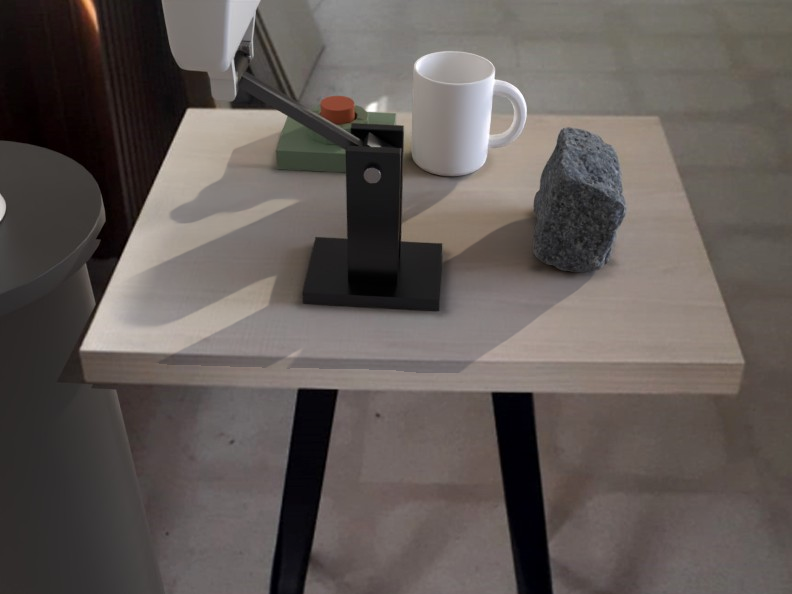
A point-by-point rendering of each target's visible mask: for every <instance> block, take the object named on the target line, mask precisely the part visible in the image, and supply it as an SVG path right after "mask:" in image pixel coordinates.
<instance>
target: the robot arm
mask: <svg viewBox="0 0 792 594" xmlns="http://www.w3.org/2000/svg"><path fill="white" fill-rule="evenodd" d="M261 1H262V0H161V4H162V10H163V11H162V12H163V17H164V23H165V27H166V33H167V38H168V43H169V47H170V52H171V54H172V56H173V59H174V61H175V63H176V64H177V66H178V67H179V68H180V69H182V70H185V71H192V72H206V73H207V75H208V78H209V80H210V90H211V97H212V98H213V100H215V101H217V102H229V103H230V102H233V101H235V100H236V97H237V95H238V92H239V89H240V88H239V86H238V72H235V66H234V57H235V53H236V52H241V53H243V54H245V55H246V56H247V58H248V61H249V65H248V67H249V66H250V64H251V62H252V60H253V59H254V55H255V54H254V52H255V51H254V33H255V23H256V13H257V9H258V7H259V4H260V3H261ZM5 211H6V203H5V200H4V198H3V197H2V195H1V194H0V221H1V220H2V218H3V216H4V214H5Z"/></svg>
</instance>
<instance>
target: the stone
mask: <svg viewBox="0 0 792 594" xmlns="http://www.w3.org/2000/svg"><path fill="white" fill-rule="evenodd" d="M623 192H624V189H623V181H622V170H621V163H620V161H619V158H618V154H617V150H616V149H615V148H614V147H613V145H612V144H609V143H606V142H605V141H604V140H603V139H602V137H601V136H600V135H598V134H595V133H593V132H590V131H588V130H586V129H582V128H576V127H570V126H567V127H563V128H561V129H560V131H559V133H558V134H557V139H556V145H555V147H554V149H553V150H552V153H551V155H550V156H549V159H547V161H546V163H545V165H544V167H543V169H542V172H541V174H540V179H539V190H537V192H535V196H534V198H533V213H534V215H535V216H536V222H535V227H534V229H533V235H532V245H533V247H532V248H533V249H532V251H533V252H532V253H533V254H534V256H535V258H537V259H538V260H540V262H542V263H544V264H545V265H549V266H554V267H555V268H556V269H558V270H561V271H568V272H573V273H591V272H595V271H597V270H598V271H599V270H601V269H602V268H603V267H604V266H605V265H607V264H608V262H609V261H610V258H611V255H612V252H613V249H614V248H613V247H614V244H615V243H616V239H617V231H618V229H619V227H620V226H621V225H622V223H623V221H624V219H625V217H626V212H627V210H628V208H627V207H628V206H627V203H626V200H625V199H626V198H625V196H624V194H623Z"/></svg>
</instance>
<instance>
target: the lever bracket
mask: <svg viewBox="0 0 792 594" xmlns="http://www.w3.org/2000/svg"><path fill="white" fill-rule="evenodd" d="M350 130H351V134H352V135H354V136H355V137H357V138H359V139H360V140H362V141H364V139H365V138H366V136H367V135H368V133H369V132H370V133H372V134H373V135H375V136H377V137H378V138H380V139H382V140H383V141H385V142H387V143H388V144H390V145H392V146H393V147H395V148H386V147H365V146H346V151H345V159H346V172H345V200H346V201H345V203H346V205H345V206H346V207H345V209H346V238H343V237H326V236H325V237H323V236H315V237H314V241H313V246H312V251H311V254H310V258H309V262H308V266H307V271H306V274H305V279H304V283H303V287H302V292H301V298H302V299H301V300H302V304H305V305H320V306H321V305H324V306H340V307H341V306H342V307H359V308H360V307H361V308H378V309H395V310H397V309H398V310H415V311H433V312H434V311H435V312H439V311H440V304H441V288H442V287H441V286H442V269H443V253H444V252H443V250H444V244H443V243H442V242H441V243H440V242H421V241H404V240H403V241H402V235H403V234H402V233H403V231H402V230H403V190H404V189H403V186H404V152H405V151H404V149H405V148H404V147H405V125H401V124H396V125H382V124H361V123H352V124H351V128H350Z"/></svg>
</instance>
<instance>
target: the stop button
mask: <svg viewBox="0 0 792 594" xmlns="http://www.w3.org/2000/svg"><path fill="white" fill-rule="evenodd" d="M319 105H321V116H322V117H323V118H325V119H327V120H328V121H330V122H332V123H334V124H335V125H342V124H347V123H351V122H352V121H354V119H355V108H354V105H355V101H354V100H353V98H351V97H348V96H344V95H330V96H327V97H325V98H323V99H322V100H321V101H320V104H319Z"/></svg>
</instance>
